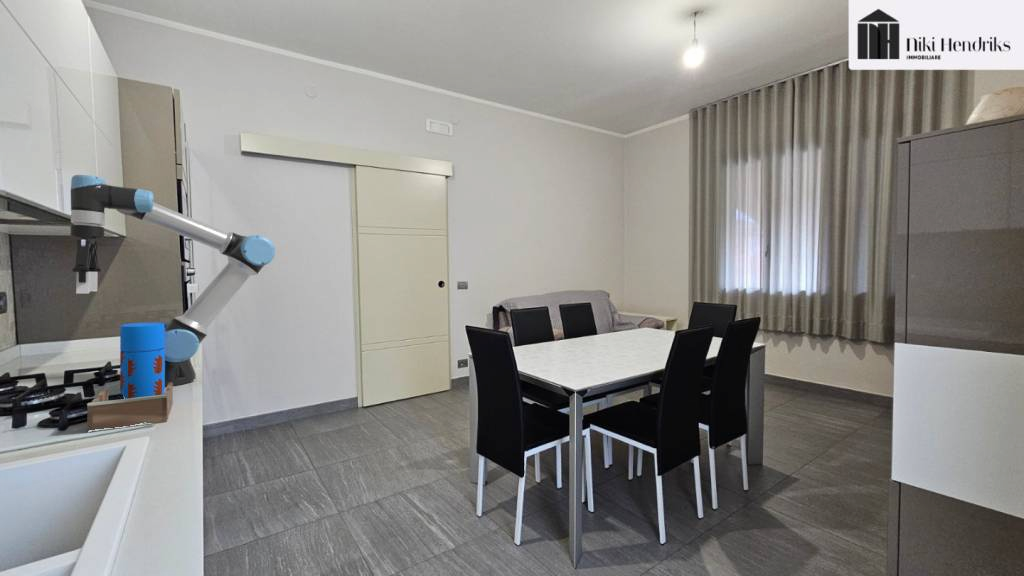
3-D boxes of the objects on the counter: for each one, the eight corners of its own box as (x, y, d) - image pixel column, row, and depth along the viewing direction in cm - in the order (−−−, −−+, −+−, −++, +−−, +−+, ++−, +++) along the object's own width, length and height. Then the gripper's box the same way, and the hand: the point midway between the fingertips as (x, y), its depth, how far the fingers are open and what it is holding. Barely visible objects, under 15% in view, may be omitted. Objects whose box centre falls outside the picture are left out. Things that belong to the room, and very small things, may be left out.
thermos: (160, 394, 143) (160, 321, 142) (168, 401, 136) (168, 325, 136) (117, 401, 135) (117, 324, 134) (123, 409, 128) (123, 327, 127)
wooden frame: (103, 412, 125) (103, 386, 125) (172, 404, 134) (172, 380, 134) (87, 432, 109) (87, 404, 109) (166, 422, 118) (166, 395, 118)
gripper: (79, 227, 140) (79, 290, 141) (60, 220, 120) (60, 294, 121) (110, 229, 145) (109, 290, 145) (97, 223, 125) (96, 294, 125)
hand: (87, 292), depth 133 cm, fingers open, 13 cm apart
